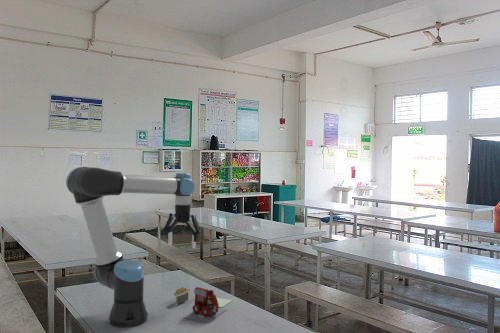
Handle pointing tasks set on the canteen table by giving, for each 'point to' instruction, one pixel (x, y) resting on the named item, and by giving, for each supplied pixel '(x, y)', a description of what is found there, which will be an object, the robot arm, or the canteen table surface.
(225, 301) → the pad
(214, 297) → the toy fire truck
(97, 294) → the canteen table surface
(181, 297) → the platform
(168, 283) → the canteen table surface
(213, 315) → the tile
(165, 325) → the canteen table surface
